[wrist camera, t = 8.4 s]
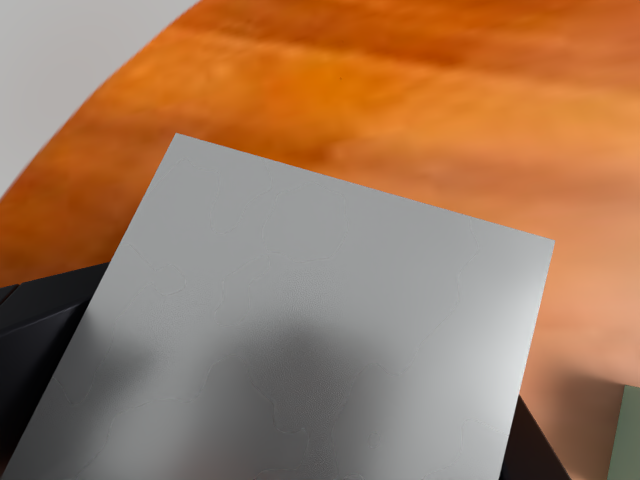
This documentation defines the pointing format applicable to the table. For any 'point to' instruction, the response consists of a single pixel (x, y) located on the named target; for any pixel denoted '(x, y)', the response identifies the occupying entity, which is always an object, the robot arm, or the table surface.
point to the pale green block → (627, 438)
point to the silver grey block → (291, 335)
